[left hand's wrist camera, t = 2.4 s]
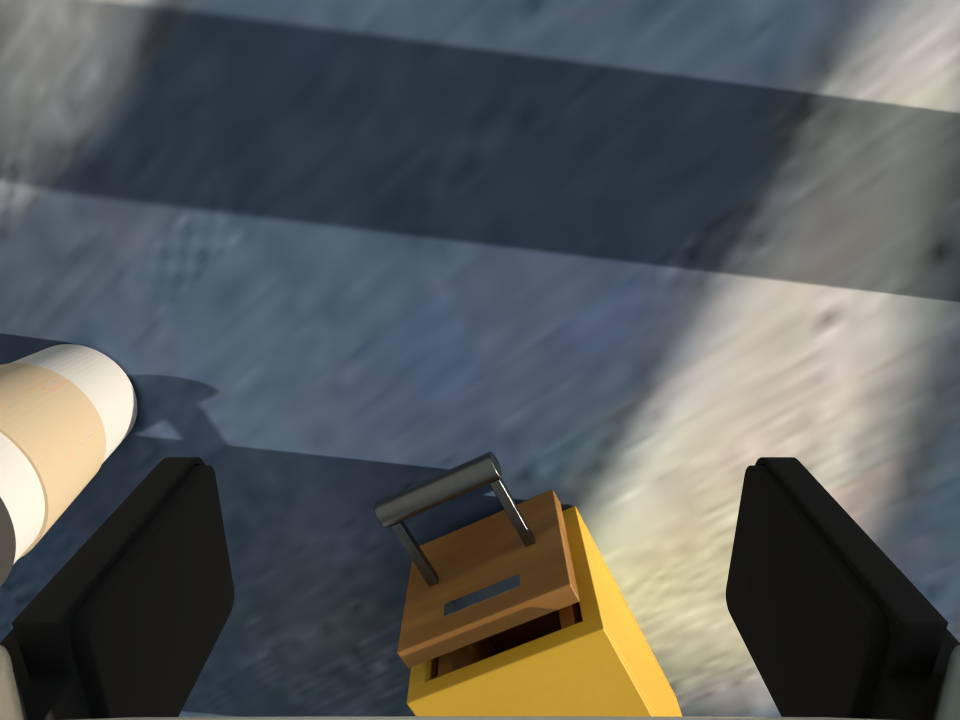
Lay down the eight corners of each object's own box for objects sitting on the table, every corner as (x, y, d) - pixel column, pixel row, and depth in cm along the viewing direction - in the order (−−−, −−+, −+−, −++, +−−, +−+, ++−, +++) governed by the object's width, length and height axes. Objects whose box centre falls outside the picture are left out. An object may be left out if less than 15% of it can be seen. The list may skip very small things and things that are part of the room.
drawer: (366, 474, 39) (335, 566, 31) (510, 409, 38) (517, 488, 30) (525, 722, 46) (534, 849, 38) (653, 676, 45) (690, 799, 37)
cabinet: (423, 568, 43) (406, 703, 33) (574, 505, 41) (603, 628, 31) (538, 745, 48) (552, 906, 38) (675, 696, 47) (727, 852, 37)
